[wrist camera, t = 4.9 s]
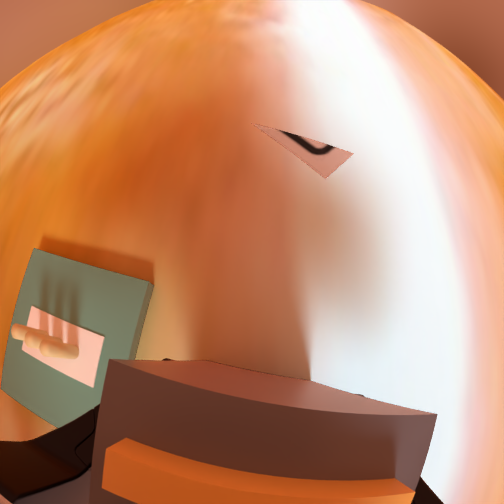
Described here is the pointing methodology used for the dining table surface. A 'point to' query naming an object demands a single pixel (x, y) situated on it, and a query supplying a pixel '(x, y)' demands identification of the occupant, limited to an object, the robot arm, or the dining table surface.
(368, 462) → the block
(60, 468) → the robot arm
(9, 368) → the board
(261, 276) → the dining table surface
